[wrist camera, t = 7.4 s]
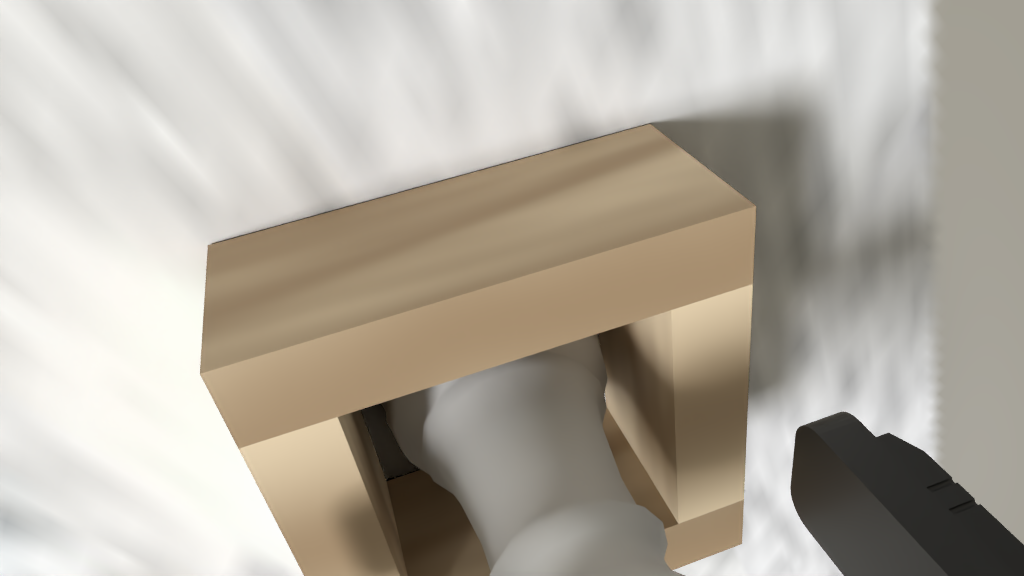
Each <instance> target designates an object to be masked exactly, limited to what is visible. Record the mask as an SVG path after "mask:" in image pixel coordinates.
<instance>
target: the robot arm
mask: <svg viewBox="0 0 1024 576" xmlns="http://www.w3.org/2000/svg"><path fill="white" fill-rule="evenodd" d="M791 496H792V500H793V503H794V506H795V509H796V511H797V513H798V515H799V517H800V519H801V521H802V522H803V524H804V525H805V527H806V528H807V529H808V531H809V532H810V533H811V534H812V536H813V537H814V538H815V539H816V541H817V542H818V543H819V544H820V546H821V547H822V548H823V550H824V551H825V552H826V553H827V555H828V556H829V557H830V558H831V560H832V561H833V562H834V564H835V565H836V566H837V567H838V569H839V570H840V571H841V572H842V574H843V575H844V576H1024V545H1023V544H1022V543H1021V542H1020V541H1019V540H1018V539H1017V538H1016V537H1015V536H1014V535H1013V534H1011V533H1010V532H1009V531H1008V530H1007V529H1006V528H1005V527H1004V526H1003V525H1002V524H1001V523H1000V522H999V521H998V520H997V519H996V518H994V517H993V516H992V515H991V514H990V513H989V512H988V511H987V510H986V509H985V508H984V507H983V506H982V505H977V504H976V503H975V500H974V498H973V497H972V496H971V495H970V494H969V493H968V492H967V491H966V490H965V489H964V488H963V487H962V486H960V485H959V484H958V483H954V482H953V480H952V477H951V476H950V475H949V474H948V473H947V472H946V471H945V470H943V469H942V468H941V467H940V466H939V465H938V464H937V463H936V462H935V461H934V460H933V459H932V458H931V457H930V456H929V455H928V454H926V453H925V452H924V451H923V450H921V449H919V448H917V447H915V446H913V445H911V444H909V443H907V442H905V441H903V440H902V439H900V438H898V437H896V436H894V435H892V434H890V433H887V434H884V435H881V436H879V437H875V436H874V435H873V434H872V433H871V432H870V431H869V430H868V429H867V428H866V427H865V426H864V425H863V424H862V423H861V422H860V421H859V420H858V419H857V418H856V417H854V416H853V415H851V414H849V413H847V412H839V413H836V414H834V415H831V416H828V417H825V418H823V419H820V420H817V421H814V422H811V423H809V424H806V425H803V426H801V427H799V428H798V429H797V431H796V437H795V447H794V458H793V468H792V478H791Z"/></svg>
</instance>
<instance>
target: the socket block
mask: <svg viewBox="0 0 1024 576" xmlns="http://www.w3.org/2000/svg"><path fill="white" fill-rule="evenodd" d="M755 223H756V205H754V204H753V203H752V202H750V201H749V200H748V199H747V198H745V197H744V196H743V195H741V194H740V193H739V192H738V191H736V190H735V189H734V188H732V187H731V186H730V185H728V184H727V183H726V182H725V181H723V180H722V179H721V178H719V177H718V176H717V175H716V174H714V173H713V172H712V171H710V170H709V169H708V168H707V167H705V166H704V165H703V164H701V163H700V162H699V161H697V160H696V159H695V158H694V157H692V156H691V155H690V154H688V153H687V152H686V151H685V150H683V149H682V148H681V147H679V146H678V145H677V144H676V143H674V142H673V141H672V140H670V139H669V138H668V137H667V136H665V135H664V134H663V133H661V132H660V131H659V130H657V129H656V128H655V127H654V126H652V125H651V124H647V125H644V126H640V127H637V128H633V129H629V130H626V131H622V132H618V133H615V134H611V135H607V136H604V137H600V138H597V139H593V140H589V141H586V142H582V143H578V144H575V145H571V146H568V147H564V148H560V149H557V150H553V151H549V152H546V153H542V154H538V155H535V156H531V157H528V158H524V159H520V160H517V161H513V162H509V163H506V164H502V165H498V166H495V167H491V168H488V169H484V170H480V171H477V172H473V173H469V174H466V175H462V176H458V177H455V178H451V179H448V180H444V181H440V182H437V183H433V184H429V185H426V186H422V187H418V188H415V189H411V190H408V191H404V192H400V193H397V194H393V195H389V196H386V197H382V198H379V199H375V200H371V201H368V202H364V203H360V204H357V205H353V206H349V207H346V208H342V209H339V210H335V211H331V212H328V213H324V214H320V215H317V216H313V217H309V218H306V219H302V220H299V221H295V222H291V223H288V224H284V225H280V226H277V227H273V228H269V229H266V230H262V231H259V232H255V233H251V234H248V235H244V236H240V237H237V238H233V239H230V240H226V241H222V242H219V243H215V244H211V245H208V253H207V269H206V285H205V301H204V317H203V333H202V350H201V366H200V375H201V377H202V379H203V381H204V383H205V385H206V386H207V388H208V390H209V392H210V394H211V396H212V398H213V400H214V402H215V404H216V406H217V408H218V410H219V412H220V414H221V416H222V417H223V419H224V421H225V423H226V425H227V427H228V429H229V431H230V433H231V435H232V437H233V439H234V441H235V443H236V445H237V446H238V448H239V450H240V452H241V454H242V456H243V458H244V460H245V462H246V464H247V466H248V468H249V470H250V472H251V474H252V476H253V477H254V479H255V481H256V483H257V485H258V487H259V489H260V491H261V493H262V495H263V497H264V499H265V501H266V503H267V505H268V507H269V508H270V510H271V512H272V514H273V516H274V518H275V520H276V522H277V524H278V526H279V528H280V530H281V532H282V534H283V536H284V538H285V539H286V541H287V543H288V545H289V547H290V549H291V551H292V553H293V555H294V557H295V559H296V561H297V563H298V565H299V567H300V569H301V570H302V572H303V574H304V576H489V575H490V573H491V571H490V568H489V565H488V562H487V559H486V556H485V553H484V550H483V547H482V544H481V542H480V540H479V538H478V536H477V534H476V532H475V530H474V529H473V527H472V525H471V523H470V521H469V519H468V517H467V515H466V513H465V511H464V509H463V507H462V506H461V504H460V502H459V501H458V500H457V498H456V497H455V496H454V494H452V493H451V492H449V491H448V490H446V489H445V488H443V487H441V486H440V485H438V484H437V483H435V482H434V481H433V480H432V478H431V476H430V475H429V474H427V473H426V472H424V471H423V470H419V471H416V472H413V473H410V474H407V475H404V476H401V477H398V478H395V479H392V480H389V481H386V478H385V476H384V473H383V470H382V467H381V465H380V462H379V459H378V456H377V454H376V451H375V448H374V445H373V443H372V440H371V437H370V435H369V432H368V429H367V426H366V424H365V421H364V418H363V415H362V413H361V409H364V408H367V407H370V406H373V405H377V404H380V403H383V402H386V401H389V400H392V399H395V398H398V397H402V396H405V395H408V394H411V393H414V392H417V391H420V390H423V389H427V388H430V387H433V386H436V385H439V384H442V383H445V382H448V381H452V380H455V379H458V378H461V377H464V376H467V375H470V374H473V373H477V372H480V371H483V370H486V369H489V368H492V367H495V366H498V365H501V364H505V363H508V362H511V361H514V360H517V359H520V358H523V357H526V356H530V355H533V354H536V353H539V352H542V351H545V350H548V349H551V348H555V347H558V346H561V345H564V344H567V343H570V342H573V341H576V340H580V339H583V338H586V337H589V336H592V335H595V334H598V333H599V339H600V347H601V351H602V355H603V359H604V363H605V368H606V373H607V378H608V379H607V384H606V388H605V396H606V405H607V408H606V412H605V416H604V420H603V430H604V433H605V435H606V438H607V441H608V443H609V446H610V449H611V451H612V454H613V457H614V459H615V462H616V465H617V467H618V470H619V473H620V476H621V478H622V480H623V482H624V484H625V485H626V487H627V489H628V491H629V492H630V494H631V496H632V498H633V499H634V501H635V503H636V505H640V506H643V507H645V508H646V509H648V510H649V511H650V512H651V513H652V514H654V515H655V516H656V517H657V518H658V519H660V520H661V521H662V522H663V525H664V530H665V534H666V538H667V543H668V545H667V549H666V553H665V557H664V560H665V562H666V564H667V565H668V566H669V568H670V569H671V570H674V569H677V568H680V567H682V566H685V565H687V564H690V563H693V562H695V561H698V560H701V559H703V558H706V557H708V556H711V555H714V554H716V553H719V552H722V551H724V550H727V549H729V548H732V547H735V546H737V545H740V544H742V528H743V504H744V481H745V457H746V434H747V411H748V387H749V364H750V340H751V317H752V294H753V270H754V247H755Z"/></svg>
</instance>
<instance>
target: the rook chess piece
mask: <svg viewBox="0 0 1024 576" xmlns="http://www.w3.org/2000/svg"><path fill="white" fill-rule="evenodd" d="M607 379H608V378H607V373H606V368H605V363H604V359H603V355H602V351H601V347H600V344H599V340H598V336H597V334H595V335H592V336H589V337H586V338H583V339H580V340H576V341H573V342H570V343H567V344H564V345H561V346H558V347H555V348H551V349H548V350H545V351H542V352H539V353H536V354H533V355H530V356H526V357H523V358H520V359H517V360H514V361H511V362H508V363H505V364H501V365H498V366H495V367H492V368H489V369H486V370H483V371H480V372H477V373H473V374H470V375H467V376H464V377H461V378H458V379H455V380H452V381H448V382H445V383H442V384H439V385H436V386H433V387H430V388H427V389H423V390H420V391H417V392H414V393H411V394H408V395H405V396H402V397H398V398H395V399H392V400H389V401H386V402H383V403H381V404H382V406H383V408H384V410H385V412H386V422H387V424H388V426H389V428H390V430H391V432H392V433H393V435H394V437H395V439H396V441H397V443H398V445H399V447H400V449H401V451H402V452H403V453H404V455H405V456H406V457H407V459H408V460H409V461H410V462H411V463H412V464H414V465H415V466H417V467H418V468H420V469H421V470H423V471H424V472H426V473H427V474H429V475H430V476H431V478H432V480H433V481H434V482H435V483H437V484H438V485H440V486H441V487H443V488H445V489H446V490H448V491H449V492H451V493H452V494H454V496H455V497H456V498H457V500H458V501H459V502H460V504H461V506H462V507H463V509H464V511H465V513H466V515H467V517H468V519H469V521H470V523H471V525H472V527H473V529H474V530H475V532H476V534H477V536H478V538H479V540H480V542H481V544H482V547H483V550H484V553H485V556H486V559H487V562H488V565H489V568H490V571H491V573H490V575H489V576H684V575H682V574H679V573H677V572H675V571H672V570H671V569H670V568H669V566H668V565H667V564H666V562H665V560H664V557H665V553H666V549H667V545H668V543H667V538H666V534H665V530H664V525H663V522H662V521H661V520H660V519H658V518H657V517H656V516H655V515H654V514H652V513H651V512H650V511H649V510H648V509H646V508H645V507H643V506H640V505H636V503H635V501H634V499H633V498H632V496H631V494H630V492H629V491H628V489H627V487H626V485H625V484H624V482H623V480H622V478H621V476H620V473H619V470H618V467H617V465H616V462H615V459H614V457H613V454H612V451H611V449H610V446H609V443H608V441H607V438H606V435H605V433H604V430H603V420H604V416H605V412H606V408H607V406H606V403H605V399H604V392H605V388H606V384H607Z"/></svg>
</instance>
